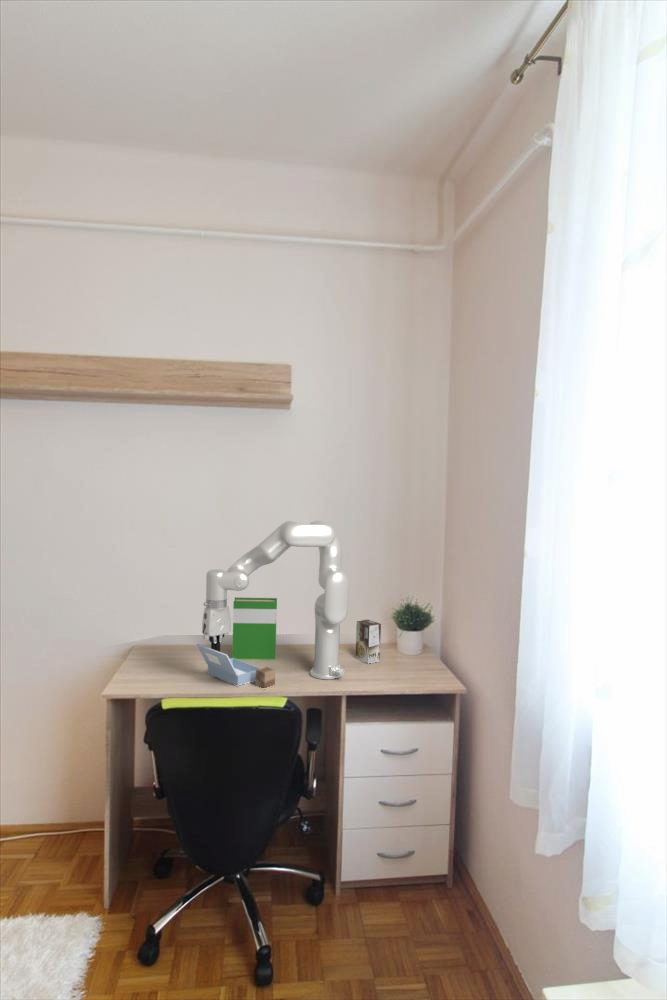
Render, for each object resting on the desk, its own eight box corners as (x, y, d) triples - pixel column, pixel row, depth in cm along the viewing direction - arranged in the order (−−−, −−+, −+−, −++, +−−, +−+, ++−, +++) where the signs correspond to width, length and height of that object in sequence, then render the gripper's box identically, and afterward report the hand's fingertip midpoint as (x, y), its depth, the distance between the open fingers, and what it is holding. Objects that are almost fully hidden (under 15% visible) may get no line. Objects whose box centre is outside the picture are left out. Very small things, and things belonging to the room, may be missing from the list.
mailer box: (262, 679, 251) (263, 668, 251) (237, 686, 243) (237, 675, 242) (232, 667, 264) (233, 657, 263) (207, 674, 255) (208, 664, 255)
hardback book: (232, 658, 275) (233, 601, 273) (233, 653, 282) (234, 597, 281) (275, 659, 276) (276, 602, 275) (275, 653, 284) (276, 598, 282)
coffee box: (380, 662, 277) (381, 623, 276) (368, 664, 273) (369, 625, 272) (367, 656, 285) (368, 618, 283) (354, 658, 281) (356, 620, 280)
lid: (227, 654, 238) (226, 655, 238) (237, 675, 242) (236, 676, 242) (197, 643, 250) (196, 644, 250) (208, 663, 255) (207, 664, 254)
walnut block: (274, 686, 245) (275, 670, 244) (264, 689, 241) (264, 673, 241) (265, 682, 248) (266, 666, 248) (255, 685, 244) (255, 669, 244)
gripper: (205, 608, 237) (204, 659, 238) (238, 602, 248) (238, 651, 249) (193, 604, 242) (192, 654, 243) (226, 599, 253) (225, 646, 254)
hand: (215, 652), depth 246 cm, fingers closed
